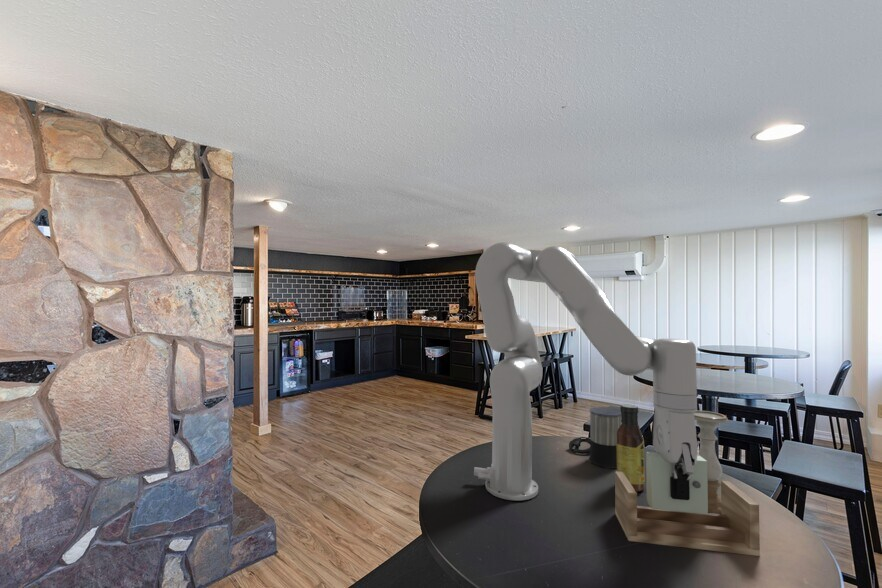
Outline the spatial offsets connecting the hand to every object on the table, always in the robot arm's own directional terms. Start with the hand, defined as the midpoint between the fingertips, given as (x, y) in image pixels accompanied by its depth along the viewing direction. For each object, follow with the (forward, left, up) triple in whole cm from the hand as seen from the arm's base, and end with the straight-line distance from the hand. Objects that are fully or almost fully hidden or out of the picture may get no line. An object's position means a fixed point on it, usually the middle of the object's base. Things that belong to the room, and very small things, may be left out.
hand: (676, 493), depth 78 cm
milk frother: (-8, +38, -8) cm, 40 cm away
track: (+1, 0, -8) cm, 8 cm away
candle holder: (+12, +14, -8) cm, 20 cm away
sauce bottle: (-3, +20, -8) cm, 21 cm away
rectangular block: (0, 0, -3) cm, 3 cm away
